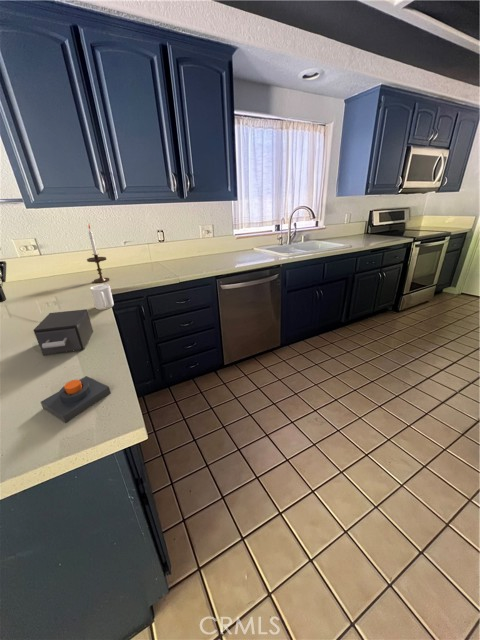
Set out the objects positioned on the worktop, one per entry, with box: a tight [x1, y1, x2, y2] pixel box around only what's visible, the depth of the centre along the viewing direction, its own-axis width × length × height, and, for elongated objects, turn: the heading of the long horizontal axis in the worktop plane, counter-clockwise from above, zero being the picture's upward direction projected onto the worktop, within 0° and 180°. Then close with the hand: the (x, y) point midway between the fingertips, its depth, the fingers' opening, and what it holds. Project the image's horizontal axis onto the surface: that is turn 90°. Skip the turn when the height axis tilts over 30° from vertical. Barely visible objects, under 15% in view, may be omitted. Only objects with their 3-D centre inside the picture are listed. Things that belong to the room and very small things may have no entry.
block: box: [40, 375, 112, 424], centre depth 68 cm, size 12×10×4 cm
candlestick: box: [86, 223, 110, 284], centre depth 163 cm, size 11×11×35 cm
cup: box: [89, 283, 115, 311], centre depth 125 cm, size 8×12×10 cm
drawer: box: [34, 327, 81, 355], centre depth 91 cm, size 18×11×8 cm, turn 15°
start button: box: [63, 379, 82, 394], centre depth 67 cm, size 4×4×2 cm
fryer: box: [33, 308, 94, 356], centre depth 95 cm, size 15×13×10 cm
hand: (0, 301), depth 69 cm, fingers closed
